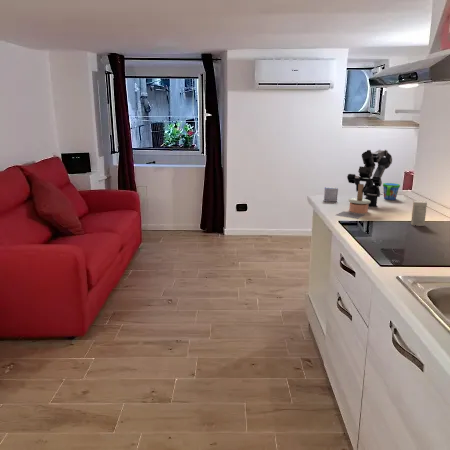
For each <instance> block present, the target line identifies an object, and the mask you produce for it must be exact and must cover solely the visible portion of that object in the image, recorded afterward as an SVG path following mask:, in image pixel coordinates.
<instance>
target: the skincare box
mask: <svg viewBox="0 0 450 450" xmlns="http://www.w3.org/2000/svg"><path fill="white" fill-rule="evenodd" d="M412 202H413V204H412V210H411V211H412V212H411V219H410V225H411V226H415V225H416V226H415V227H419V226H420V227H425V223H426V215H427V205H428V202H427V201H424V200H423V201H420V200H413V201H412Z"/></svg>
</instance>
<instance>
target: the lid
mask: <svg viewBox="0 0 450 450" xmlns="http://www.w3.org/2000/svg"><path fill="white" fill-rule="evenodd" d="M364 186H365V184H364V183H360V184H358V191H357V194H356V195H357V196H356V198H355V197H353V198H348V202H349V203H350V202H351V203H356V204H369V203H370V202H371V201H370V200H367V199H365V198H363V197H364V192H362V191H363V188H364Z"/></svg>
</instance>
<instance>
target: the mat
mask: <svg viewBox="0 0 450 450" xmlns="http://www.w3.org/2000/svg"><path fill="white" fill-rule="evenodd" d="M335 216H339V217H344V218H349V219H357V220H358V219H361V218H362V217H364V216H366V214H365V213H356V212H351V211H345V210H342V211H341V212H339V213H336V214H335Z"/></svg>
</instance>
